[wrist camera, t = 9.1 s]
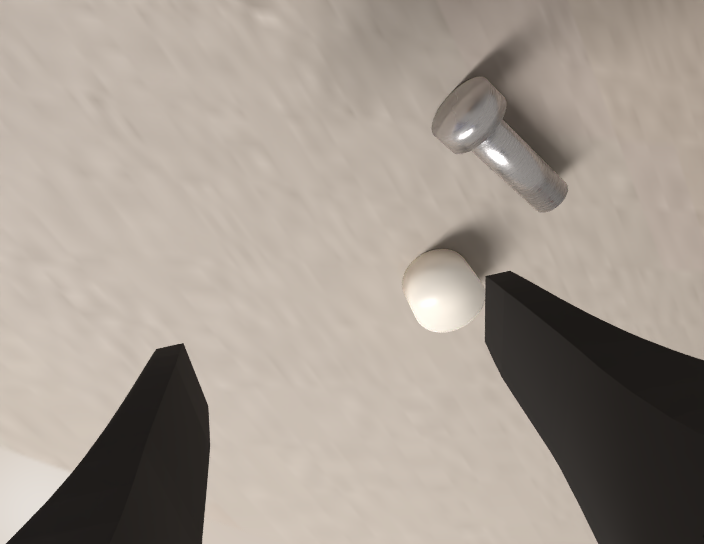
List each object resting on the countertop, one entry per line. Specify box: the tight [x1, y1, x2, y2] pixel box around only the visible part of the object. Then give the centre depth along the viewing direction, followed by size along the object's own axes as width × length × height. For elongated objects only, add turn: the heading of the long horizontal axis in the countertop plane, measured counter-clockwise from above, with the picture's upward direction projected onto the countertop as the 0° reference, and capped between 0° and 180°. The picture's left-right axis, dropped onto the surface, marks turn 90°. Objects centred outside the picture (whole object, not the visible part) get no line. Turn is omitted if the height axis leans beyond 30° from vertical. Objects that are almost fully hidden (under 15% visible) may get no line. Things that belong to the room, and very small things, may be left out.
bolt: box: [432, 77, 568, 212], centre depth 21 cm, size 6×3×3 cm, turn 49°
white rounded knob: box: [402, 249, 485, 332], centre depth 24 cm, size 3×3×2 cm
